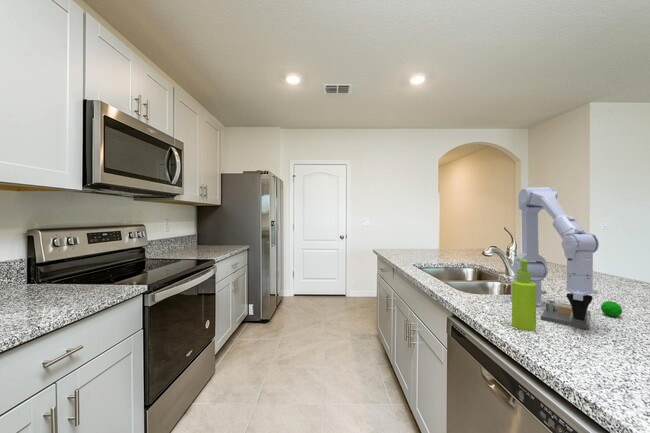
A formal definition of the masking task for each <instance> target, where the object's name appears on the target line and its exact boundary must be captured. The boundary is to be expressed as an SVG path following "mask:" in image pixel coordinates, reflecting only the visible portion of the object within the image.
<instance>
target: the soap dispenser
mask: <svg viewBox="0 0 650 433" xmlns="http://www.w3.org/2000/svg"><path fill="white" fill-rule="evenodd" d="M516 261H520V269H519V270H517V281H512V301H511V325H512V327H514V328H516V329H520V330H524V331H530V332H531V331H535V330H537V305H536V284H535V283H532V282H531V272H530V271H529V270H527V263H529V262H530V261H528V260H526V259H516Z"/></svg>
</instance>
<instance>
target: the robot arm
mask: <svg viewBox="0 0 650 433" xmlns="http://www.w3.org/2000/svg"><path fill="white" fill-rule="evenodd" d="M518 209H519V210H521V211H520V212H521V253H519V254H518V255H516V256H515V257H514V258H513V264H512V273H513V275H514V276H513V277H511V280H510V301H511V302H512V281H517V270H519V269H520V261H516V259H526V260H528V261H529V263H527V270H529V271H530V272H531V282H532V283H535V284H536V307H537V306H538V307H541V306H542V305H543V304H544V303H545V301H544V299H542V281H544V279H545V278H547V276H548V272H549V271H548V270H549V269H548V266H547V263H546V258H544V257H543V256H541V255H540V253H539V213H540V212H541V211H542V210H544V211H545V212H547V214H548V215H549V216H550V217H551V218H552V219H553V222H552V226H553V228H554V229H555V230H556V232H557V233H558V235H559V236H560V237H561V239H562V241H561V247H562V249H563V251H564V257H565V258H566V287H565V290H566V291H567V293H566V298H567V299H568V301H569V305H571V307H572V311H573V315H574V318H575V319H577V320H582V321H584V319H585V316H586V311H587V309H588V308H589V306H590V304H591V303H592V301H593V298H594V297H593V295H592V294H595V295H598V294H599V290H597V289H593V284H594V282H593V281H594V280H593V279H594V275H593V271H594V268H593V267H594V258H593V257H594V254H595V253H596V252H597V251H598V249H599V245H600V244H599V239H598V237H597V236H596V235H595V234H594V233H592V232H591V233H590V232H589V231H587V230H584V228H583V227H582V226H581V225H580V223H579V222H578V221H577V220H576V218H575V217H574V216H573V215H570V214H567V213H566V212H565V210H564V209H563V207H562V206H561V204H560V203H559V201H558V192H557V190H556V188H554V187H553V186H547V187H545V186H544V187H543V186H542V187H541V186H540V187H539V186H538V187H531V186H530V187H529V186H524V187H523V188H522V189H521V190H520V192H519V193H518Z"/></svg>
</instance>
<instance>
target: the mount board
mask: <svg viewBox="0 0 650 433" xmlns="http://www.w3.org/2000/svg"><path fill="white" fill-rule="evenodd" d="M551 303H556V301H555V300H549V299H547V301H546V302H545V309H544V310H543V312H542V313H541V315H540V321H545V322H549V323H554V324H558V325H564V326H568V327H573V328H578V329H581V330H582V329H583V330H589V326H590V319H591V311H590V310H589V309H588V310H587V314H586V319H584V321H582V320H577V319H575V318H574V315H573V311H572V308H567V307H561V306H558V308H555V307H553V304H551ZM558 304H563V305H569V306H571V304H566V303H561V302H560V303H558Z"/></svg>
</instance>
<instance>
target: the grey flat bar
mask: <svg viewBox="0 0 650 433" xmlns="http://www.w3.org/2000/svg"><path fill="white" fill-rule="evenodd" d="M551 304H553V307H555V308H558V306H561V307H567V308H572V307H571V306H569V305H570V304H568V305H563V304H564V303H562V304H559V303H558V302H555V303H551ZM587 310H588V311H589V309H588V308H587ZM586 314H587V311H586Z"/></svg>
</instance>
